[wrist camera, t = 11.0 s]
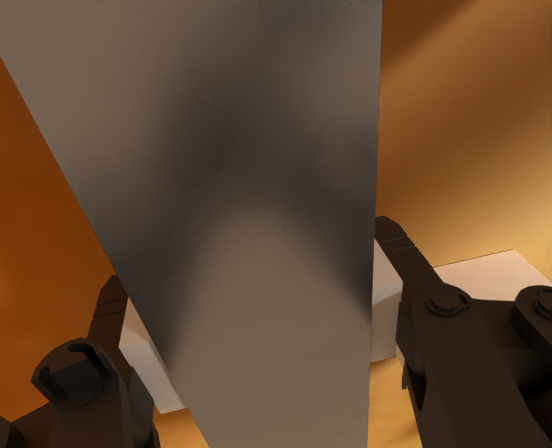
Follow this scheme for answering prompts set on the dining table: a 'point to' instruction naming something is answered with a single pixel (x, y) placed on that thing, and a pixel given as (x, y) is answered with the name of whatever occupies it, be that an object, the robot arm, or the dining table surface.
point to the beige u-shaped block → (490, 278)
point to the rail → (225, 191)
